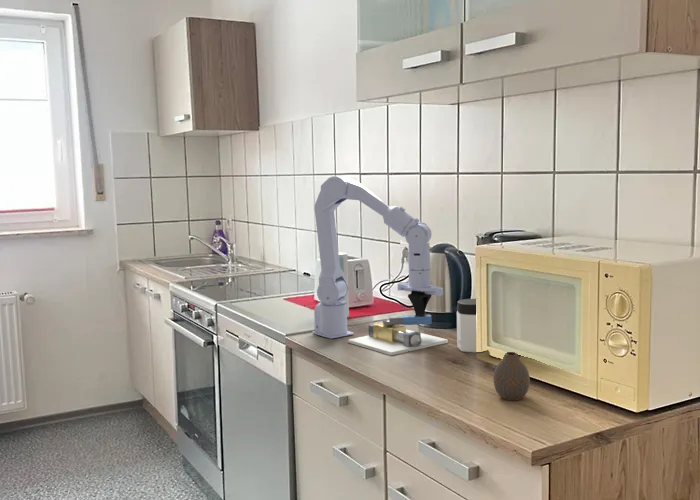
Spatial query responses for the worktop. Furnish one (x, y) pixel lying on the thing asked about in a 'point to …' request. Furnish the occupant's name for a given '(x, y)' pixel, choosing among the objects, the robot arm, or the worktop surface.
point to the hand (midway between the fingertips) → (420, 319)
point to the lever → (408, 320)
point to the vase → (511, 377)
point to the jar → (466, 325)
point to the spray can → (345, 274)
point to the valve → (394, 334)
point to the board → (396, 344)
